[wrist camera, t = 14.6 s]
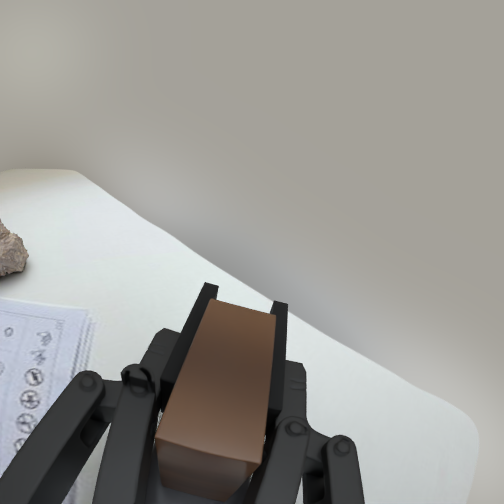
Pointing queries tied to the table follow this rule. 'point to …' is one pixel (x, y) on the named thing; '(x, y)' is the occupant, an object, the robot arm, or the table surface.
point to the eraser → (215, 411)
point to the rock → (11, 252)
